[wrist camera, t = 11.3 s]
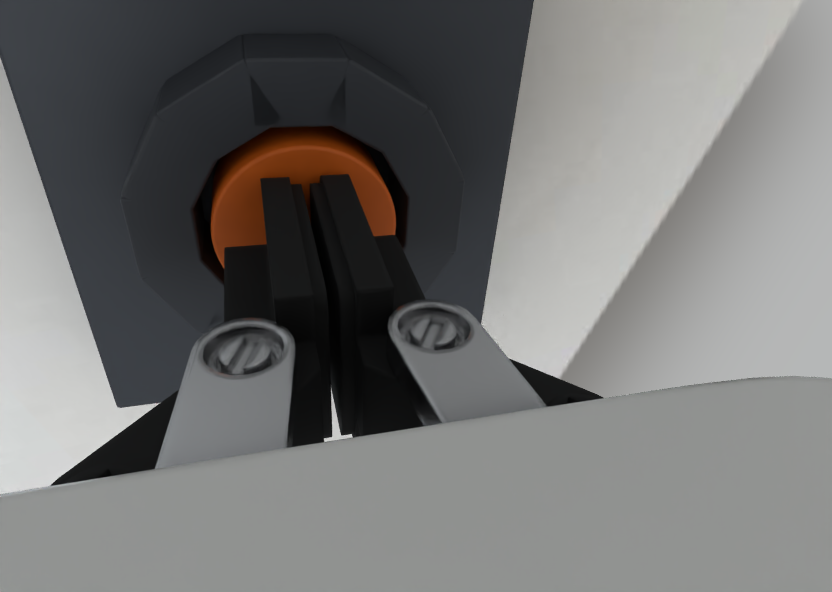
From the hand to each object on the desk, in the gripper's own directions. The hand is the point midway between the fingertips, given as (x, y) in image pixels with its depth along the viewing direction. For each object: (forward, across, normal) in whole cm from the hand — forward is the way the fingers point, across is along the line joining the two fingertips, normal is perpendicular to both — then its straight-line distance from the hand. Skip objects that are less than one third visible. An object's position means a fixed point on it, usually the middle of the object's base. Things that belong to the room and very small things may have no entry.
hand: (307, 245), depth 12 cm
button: (+2, 0, 0) cm, 2 cm away
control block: (+4, 0, 0) cm, 4 cm away
